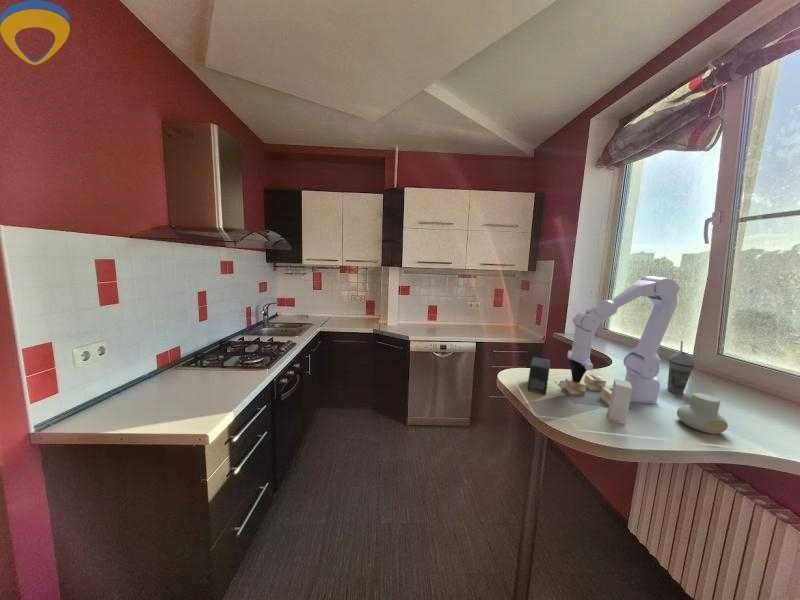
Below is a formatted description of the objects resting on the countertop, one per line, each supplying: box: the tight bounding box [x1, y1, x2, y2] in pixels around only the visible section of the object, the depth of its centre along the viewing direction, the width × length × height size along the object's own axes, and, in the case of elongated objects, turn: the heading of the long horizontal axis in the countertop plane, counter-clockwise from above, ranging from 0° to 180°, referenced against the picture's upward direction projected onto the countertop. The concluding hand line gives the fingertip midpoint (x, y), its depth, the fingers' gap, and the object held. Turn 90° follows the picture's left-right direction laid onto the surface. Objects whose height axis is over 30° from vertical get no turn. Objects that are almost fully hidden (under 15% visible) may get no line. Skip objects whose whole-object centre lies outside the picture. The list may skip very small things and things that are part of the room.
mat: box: [558, 379, 632, 410], centre depth 109 cm, size 18×19×1 cm
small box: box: [527, 356, 551, 396], centre depth 111 cm, size 11×6×10 cm, turn 152°
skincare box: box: [607, 378, 632, 425], centre depth 92 cm, size 6×4×12 cm
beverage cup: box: [667, 340, 695, 395], centre depth 114 cm, size 7×7×20 cm
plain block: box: [564, 377, 587, 395], centre depth 109 cm, size 5×5×4 cm
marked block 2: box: [600, 386, 613, 405], centre depth 103 cm, size 5×5×4 cm
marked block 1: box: [583, 373, 607, 391], centre depth 114 cm, size 5×5×4 cm
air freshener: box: [676, 392, 729, 434], centre depth 90 cm, size 11×8×10 cm
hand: (576, 381), depth 109 cm, fingers closed
